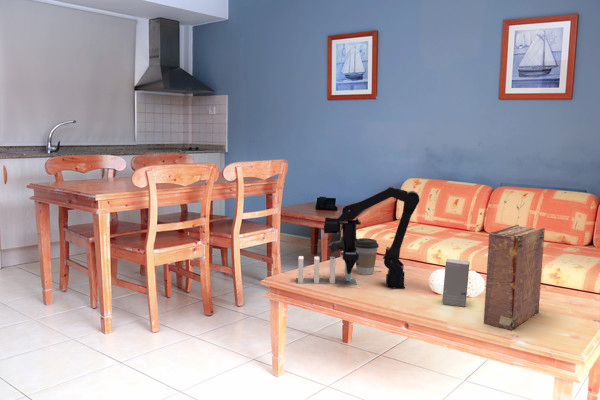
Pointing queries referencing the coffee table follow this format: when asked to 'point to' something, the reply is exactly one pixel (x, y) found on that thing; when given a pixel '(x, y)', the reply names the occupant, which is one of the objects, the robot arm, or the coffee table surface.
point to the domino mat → (327, 281)
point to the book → (513, 276)
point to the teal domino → (347, 276)
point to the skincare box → (455, 282)
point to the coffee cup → (366, 255)
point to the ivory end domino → (300, 269)
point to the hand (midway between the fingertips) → (348, 272)
